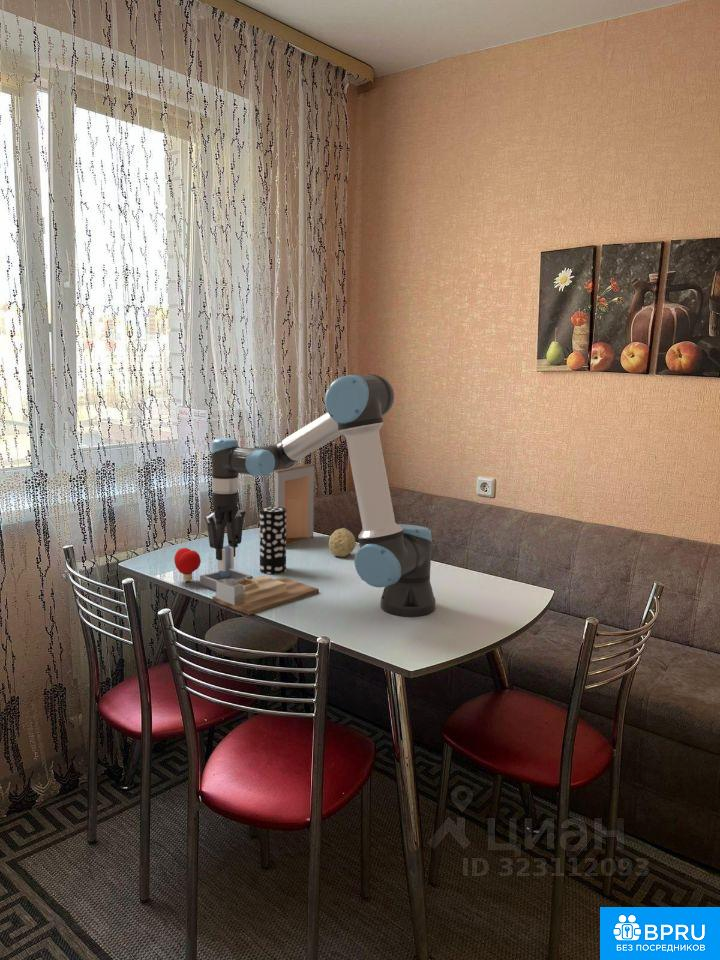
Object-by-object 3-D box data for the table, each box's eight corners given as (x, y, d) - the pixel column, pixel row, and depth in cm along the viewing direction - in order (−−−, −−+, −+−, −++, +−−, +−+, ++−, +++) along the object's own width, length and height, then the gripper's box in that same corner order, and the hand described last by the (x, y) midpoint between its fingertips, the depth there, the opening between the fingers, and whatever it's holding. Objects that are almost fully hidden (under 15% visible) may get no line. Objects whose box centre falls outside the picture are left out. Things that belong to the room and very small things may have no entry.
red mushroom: (206, 582, 219) (206, 550, 218) (186, 587, 214) (186, 555, 213) (189, 576, 226) (188, 544, 224) (169, 580, 221) (168, 548, 219)
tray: (252, 585, 217) (252, 575, 217) (222, 594, 209) (222, 584, 209) (229, 577, 225) (229, 568, 224) (200, 585, 217) (199, 575, 216)
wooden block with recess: (286, 591, 209) (286, 578, 208) (247, 602, 199) (247, 588, 198) (263, 583, 216) (263, 570, 215) (225, 594, 206) (225, 580, 205)
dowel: (226, 573, 219) (225, 544, 218) (231, 575, 217) (231, 546, 215) (217, 575, 217) (217, 545, 216) (222, 577, 215) (222, 547, 213)
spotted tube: (281, 575, 228) (281, 512, 225) (256, 573, 230) (255, 511, 226) (289, 567, 236) (289, 507, 233) (264, 565, 238) (264, 505, 234)
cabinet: (278, 548, 259) (278, 471, 254) (257, 544, 264) (257, 468, 259) (313, 537, 276) (313, 464, 271) (293, 533, 281) (293, 461, 276)
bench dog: (243, 602, 199) (243, 585, 198) (234, 605, 197) (234, 587, 196) (225, 595, 204) (225, 578, 204) (216, 598, 202) (216, 580, 201)
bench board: (318, 592, 212) (318, 588, 212) (248, 615, 193) (248, 610, 193) (282, 580, 223) (282, 576, 223) (212, 600, 204) (212, 596, 204)
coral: (362, 533, 255) (353, 527, 246) (355, 561, 253) (345, 557, 244) (337, 528, 258) (327, 522, 249) (330, 556, 256) (320, 551, 247)
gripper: (238, 486, 220) (238, 561, 224) (195, 492, 209) (196, 571, 213) (254, 489, 215) (254, 566, 219) (211, 496, 204) (212, 577, 208)
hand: (225, 568), depth 216 cm, fingers closed on dowel, 2 cm apart
